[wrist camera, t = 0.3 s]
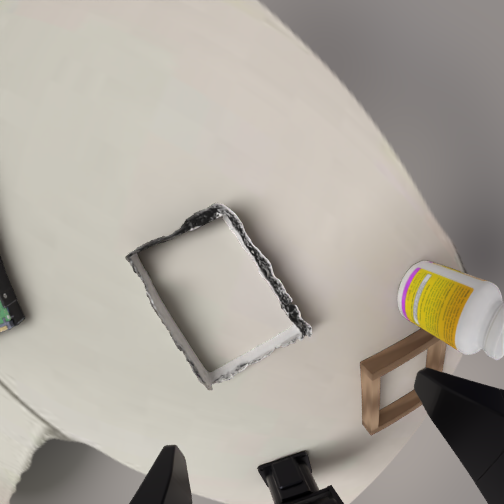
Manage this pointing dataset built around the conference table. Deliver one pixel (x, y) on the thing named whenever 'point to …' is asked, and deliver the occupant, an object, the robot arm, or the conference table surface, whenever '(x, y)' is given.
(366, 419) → the brown wooden square frame
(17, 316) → the disk drive
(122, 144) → the conference table surface
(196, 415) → the conference table surface
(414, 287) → the supplement bottle
